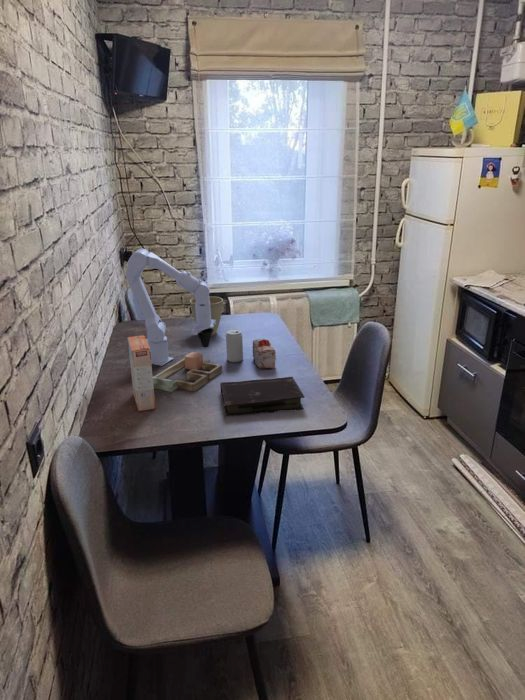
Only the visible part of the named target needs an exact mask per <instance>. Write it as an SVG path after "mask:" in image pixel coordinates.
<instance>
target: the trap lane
mask: <svg viewBox="0 0 525 700" xmlns="http://www.w3.org/2000/svg"><path fill="white" fill-rule="evenodd" d="M182 368H185V357H184V358H182V359H181V360H178V361H177V362H175V363H174V364H172V365H171V366H169V367H167V368H165V369H164V370H162V371H159V373H157V374H156V375H153V386H154V389H156V390H160V391H165V392H169V393H172V392H174V391H176V390H177V389H180V390H185V391H190V392H196V391H197V390H199V389H200V388H202V387H203V386H204V385H205V384H207V383H208V381H211V380H213V379H214V378H215V377H217V376H218V375H219V374H221V373H222V372H223V366H222V364H218V363H212V362H211V363H210V359H206V360H203V363H202V367H201V368H202V370H200V369H198V370H196V369H192V370H191V369H189V371H187V372H186V380H188V381H186V380H185V381H184V380H180V379H175V380H173V379H172V380H171V379H168V377H170V376H171V375H173V374H174V373H176V372H178V371H179V370H181V369H182ZM190 381H194V382H190Z"/></svg>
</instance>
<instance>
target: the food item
mask: <svg viewBox="0 0 525 700" xmlns="http://www.w3.org/2000/svg"><path fill="white" fill-rule="evenodd" d="M276 356H277V355H276V350H275V348H274V347H273V346H272V343H271V342H270V340H268V339H265V338H258V339H254V340H252V357H253V359H254V363H255V365H256V366H257V367H258V368H259V369H262V370H271V369H275V367H276V360H277V358H276Z"/></svg>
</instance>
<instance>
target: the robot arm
mask: <svg viewBox="0 0 525 700" xmlns="http://www.w3.org/2000/svg"><path fill="white" fill-rule="evenodd" d="M145 268H147V270H151V269H157V270H159V271H160V272H162V273H164V274H166V275H168V276H169V277H171V278H173V279H174V280H175V281H176V282H175V283H176V285H178V286H179V287H181V288H182V289H183V290H186V291H187V292H189V293H190V294H193V296H194V298H195V299H196V302H195V307H196V322H197V325H196V324H195V325H194V327H193V329H191V335H193V336H198V339H199V341H200V343H201V346H202V347H201V348H209V346H210V341H211V337H212V336H211V334H212V332H213V329H212V328H213V327H214V325H216V320H213V319H211V308H210V298H209V296H210V291H211V289H210V286H209V284H208V283H207V282H206V281H205V280H204V281H203V280H201V279H198V278H197V277H195V276H193V275H192V273H191V272H190V271H185V270H183V271H179V270H178V269H176V268H175V267H174V266H173V265H171V264H169V263H168V262H166V261H165V260H164V259H162V258H161V257H159V256H158V255H156V253H154V252H152V251H150V252H149V250H148V249H145V248H142V247H141V248H138V249H136V250H135V252H134V253H132V254H131V255H130V257H129V259H128V261H127V267H126V273H125V279H126V280H127V281H126V282H127V283H128V285H129V288H130V290H131V292H132V294H133V297H134V299H135V301H136V303H137V305H138V308H139V310H140V312H141V315H142V316H143V319H144V325H145V329H146V331H147V332H146V336H147V338H146V340H147V343H148V345H149V347H150V352H151V365H156V366H160V367H161V366H164V365H166V364H168V363H169V362H172V360H174V357H172V356H170V357H169V348H168V347H169V345H168V337H167V336H166V331H167V325H166V323H165V322H164V321H162V319H161V317H160V316H159V315H158V314H157V311H156V309H155V307H154V304H153V303H152V300H151V298H150V295H149V294H148V291H147V289H146V286H145V284H144V282H143V279H142V277H141V276H142V274H143V271H144V269H145Z"/></svg>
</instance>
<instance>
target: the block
mask: <svg viewBox="0 0 525 700" xmlns="http://www.w3.org/2000/svg"><path fill="white" fill-rule="evenodd" d="M183 357H184V358H185V366H184V368H185V369H187V370H192V369H196V370H200V369H201V368H203V367H202V363H203V362H204V355H203V353H199V352H193V351H192V352H189V353H188V354H186V355H185V356H183Z"/></svg>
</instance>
